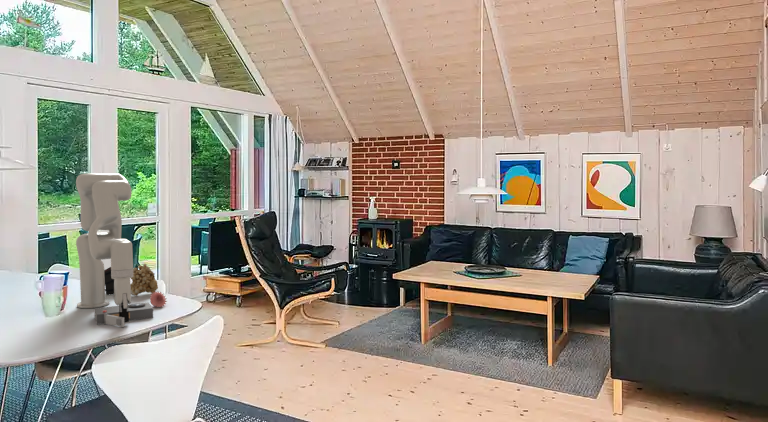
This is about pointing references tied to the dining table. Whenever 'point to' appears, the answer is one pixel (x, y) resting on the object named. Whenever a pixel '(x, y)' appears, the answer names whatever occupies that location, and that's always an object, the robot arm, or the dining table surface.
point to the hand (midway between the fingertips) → (124, 321)
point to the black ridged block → (109, 281)
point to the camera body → (134, 310)
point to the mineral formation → (143, 281)
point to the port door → (114, 320)
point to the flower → (157, 299)
